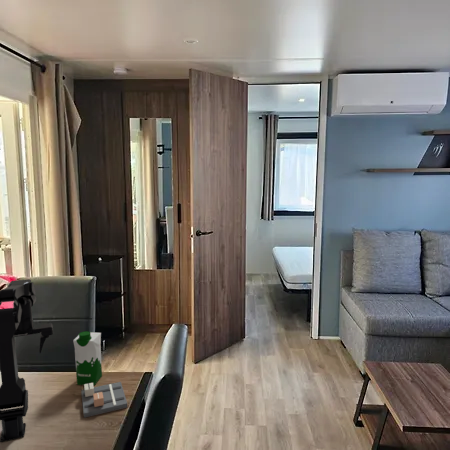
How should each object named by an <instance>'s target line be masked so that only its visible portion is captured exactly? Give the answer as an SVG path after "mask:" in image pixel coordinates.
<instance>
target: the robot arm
mask: <svg viewBox="0 0 450 450" xmlns="http://www.w3.org/2000/svg"><path fill="white" fill-rule="evenodd" d="M36 295H37V292H36V287H35V285H34V282H32V279H17V280H11V281H10V282H9V284H8V286H7V287H6V288H2V289H1V290H0V306H1V305H2V303H8V302H9V303H10V302H11V303H13V306H12V307H8V308H7V307H6V308H0V376H1V377H0V378H1V384H0V421H1V428H2V429H1V434H0V443H4V442H8V441H10V440H16V439H20V438H23V437H25V434H26V428H27V427H26V426H27V423H26V422H24V419H23V418H24V417H26V415H27V412H28V410H29V390H28V389H27V388H26V379H25V378H23V377H20V376H19V368H18V359H17V350H16V349H17V348H16V340H15V339H16V338H17V337H23V336H28V335H34V334H35V335H37V334H40V337H39V349H38V350H39V352H38V353H39V354H41V353H42V351H43V347H44V344H45V341H46V340H47V338H50V336H52V335H54V328H53V327H54V325H53V323H52V322H48V323H41V324H40V327H36V328H35V327H34V326H35V325H34V319H33V308H32V307H34V304H35V303H36V301H37V296H36Z"/></svg>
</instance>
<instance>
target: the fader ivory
mask: <svg viewBox="0 0 450 450" xmlns="http://www.w3.org/2000/svg"><path fill="white" fill-rule="evenodd" d="M83 387H84V388H83V390H84V391H85V397H88V396H92V395H93V394H94V386H93V383H89V384H84V385H83Z"/></svg>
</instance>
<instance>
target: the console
mask: <svg viewBox="0 0 450 450" xmlns="http://www.w3.org/2000/svg"><path fill="white" fill-rule="evenodd" d="M99 392H102V393H103V398H104V405H102V406H98V407H94V399H93V395H92V396H88V397H85V391H84V389H81V393H80V394H81V400H82V401H81V402H82V410H83V418H89V417H92V416H97V415H100V414H104V413H105V414H107V413H109V412H110V413H111V412H114V411H117V410H122V409H126V408H128V401H127V397H126V395H125V391H124V387H123V384H122V381H118V382H114V383H112V382H111V383H109V384H108V383H107V384H103V385H99V386H95V387H94V393H99Z"/></svg>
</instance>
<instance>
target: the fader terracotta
mask: <svg viewBox="0 0 450 450" xmlns="http://www.w3.org/2000/svg"><path fill="white" fill-rule="evenodd" d="M93 399H94V407H98V406H102V405H104V398H103V393H102V392H99V393H94V394H93Z"/></svg>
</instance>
